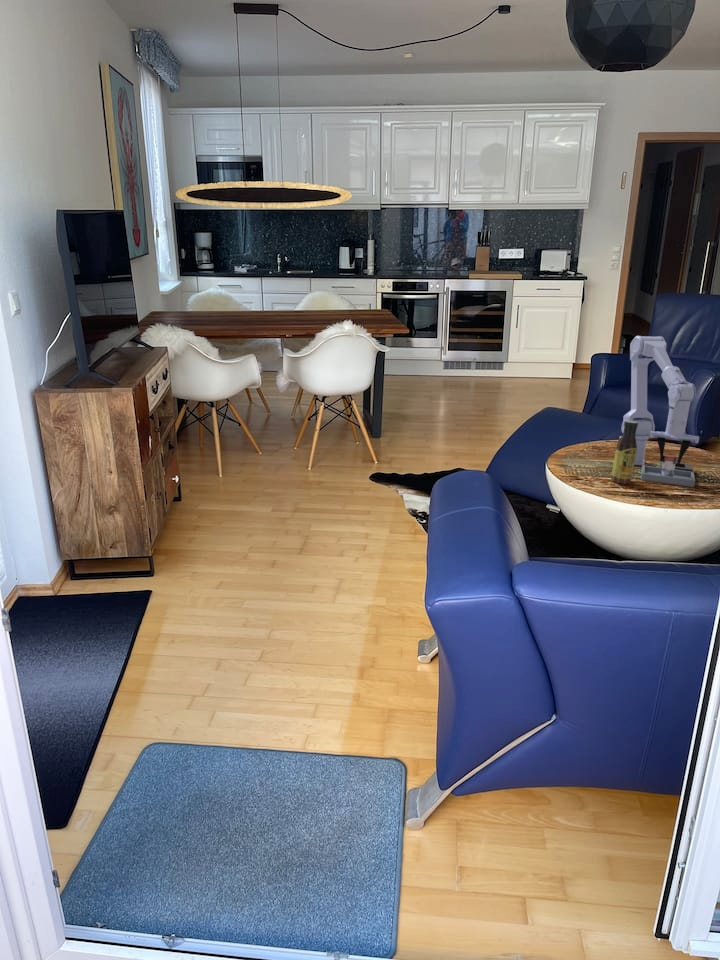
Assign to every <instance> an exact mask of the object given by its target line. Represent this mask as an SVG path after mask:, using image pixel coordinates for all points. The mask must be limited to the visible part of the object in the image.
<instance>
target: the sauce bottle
mask: <svg viewBox="0 0 720 960" xmlns="http://www.w3.org/2000/svg"><path fill="white" fill-rule="evenodd" d="M637 427H638V422H636V421H628V420H627V421H625V422H624V431H623V433H622V435H621V436H622V437H621V438H620V437H619V439H618V441H617V444H616V448H615V451H614V453H615V454H614V458H613V459H614V460H613V463H612V464H613V465H612V469H611V478H610V480H611V481H612V482H614V483H616V484H622V485H623V484H624V485H626V484H627V485H628V484H630V483H631V482H632V478H633V473H634V468H635V465H634V463H635V458H636V452H637V444H636V437H635V435H636V429H637Z"/></svg>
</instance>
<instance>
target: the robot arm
mask: <svg viewBox="0 0 720 960" xmlns="http://www.w3.org/2000/svg"><path fill="white" fill-rule="evenodd" d="M629 344H630V345H629V361H631V373H630V374H631V375H630V377H631V379H630V380H631V381H630V383H631V385H630V410H629V411H628V412H627V413H625V414H624V415H623V418H622V419H623V421H622V423H621V433H622V434H623V431H624V422H625V421H627V420H628V421H636V422H638V427H637V429H636V435H635V437H636V444H637V452H636V458H635V463H634V466H642V465H644V466H646V465H645V464H646V463H645V462H646V461H645V455H646V449H647V443H648V440H649V439H656V442H657V444H658V449H659V455H660V456H659V457H660V458H659V461H660V462H661V461H663V455H664V451H665V446H666V440H669V441H670V440H671V441H678V442H680V447H679V453H678V457H677V460H676V462H677V463H681V461H682V458H683V457H684V455H685V454H686V452H687V451H688V449H689V448H690V446H691V443H694V444H699V441H700V436H698V435H692V434H691V435H690V434H687V433H686V428H687V422H688V417H689V411H690V405H691V402H693V401H694V400H695V398H696V396H697V389H696V386H695V384H694V383H692V382H691V383H690V382H689V381H687V380H686V377H684V375H683V373H682V372H681V369H680V367H678V366H675V365H673V363H672V361H671V359H670V356H669V354H668V352H667V342H666V340H665V338H664V337H663V336H662V335H659V336H649V335H648V336H642V335H636V336H635V337H634V338H633V339H632V340H631V342H630V343H629ZM653 361H655V363H656V364H657V365H658V367H659V368H660V369H661V371H662V373H661V375H660V377H661V378H662V380H663V382H664V383H665V384H664V385H666V388H667V390H668V391H667V397H668V406H669V408H668V409H669V410H668V416H667V422H666V427H665V431H659V430H657V431H655V430H656V429H655V428H656V425H655V422H654V415H653V414H652V413H651V412H650V411H649V410H648V373H649V372H648V367H649V364H650V363H651V362H653ZM621 437H622V435H620V436H619V439H620V438H621Z"/></svg>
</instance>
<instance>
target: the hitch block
mask: <svg viewBox="0 0 720 960" xmlns="http://www.w3.org/2000/svg"><path fill="white" fill-rule="evenodd" d="M659 463H660V464H659V467H660V468H662V461H660V462H659ZM675 470H683V471H690V472H694V466H693V463H687V462H680V463H677V461H676V463H675Z"/></svg>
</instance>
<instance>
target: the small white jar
mask: <svg viewBox="0 0 720 960" xmlns="http://www.w3.org/2000/svg"><path fill="white" fill-rule="evenodd" d="M676 462H677V456H675V455H672V454H663V461H662V468H661V475H662V476H669V477H674V470H675V463H676Z"/></svg>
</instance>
